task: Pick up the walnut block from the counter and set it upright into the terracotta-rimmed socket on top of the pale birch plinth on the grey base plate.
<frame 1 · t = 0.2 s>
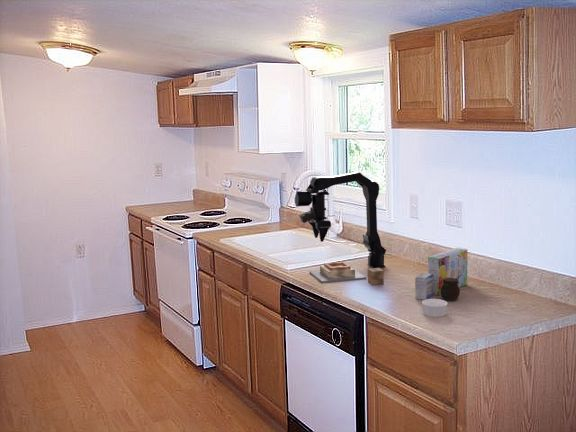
hand: (318, 239, 291), 15 cm above the counter, tool pointing down, fingers open, 9 cm apart
snack box: (447, 289, 261), on the counter
ramekin: (434, 314, 230), on the counter
grey base plate: (337, 275, 285), on the counter
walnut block: (375, 283, 271), on the counter
socket plinth: (337, 274, 284), resting on grey base plate
medicine box: (423, 297, 251), on the counter
mate gourd: (450, 299, 247), on the counter
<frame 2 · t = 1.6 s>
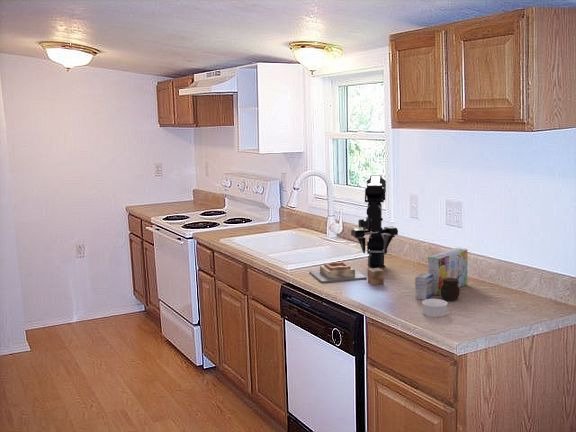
hand: (374, 252, 269), 13 cm above the counter, tool pointing down, fingers open, 9 cm apart
nothing on the counter moved.
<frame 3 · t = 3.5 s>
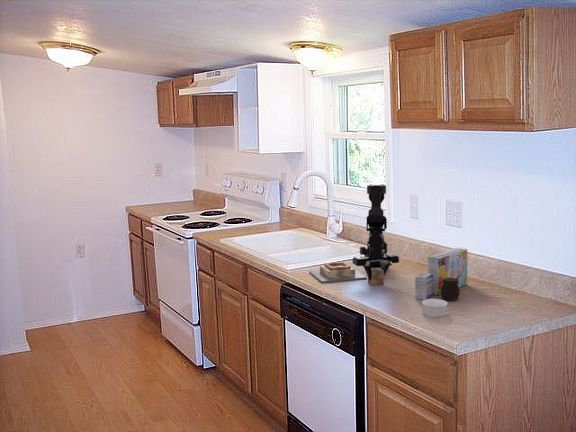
hand: (375, 279, 271), 2 cm above the counter, tool pointing down, fingers closed on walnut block, 5 cm apart
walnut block: (375, 283, 271), on the counter, touching gripper
everything else where it was.
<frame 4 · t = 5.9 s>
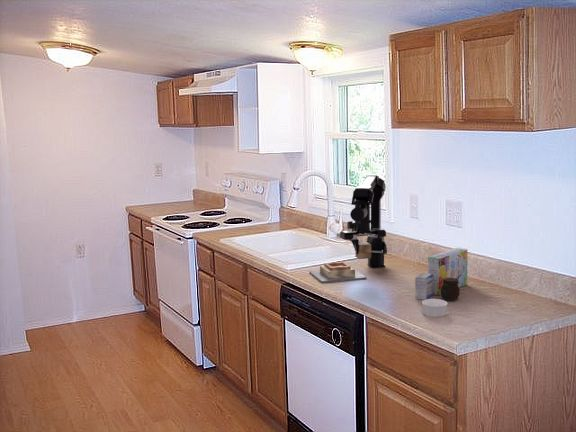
hand: (363, 253, 274), 12 cm above the counter, tool pointing down, fingers closed on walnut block, 5 cm apart
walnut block: (363, 257, 274), point 10 cm above the counter, touching gripper
everything else where it was.
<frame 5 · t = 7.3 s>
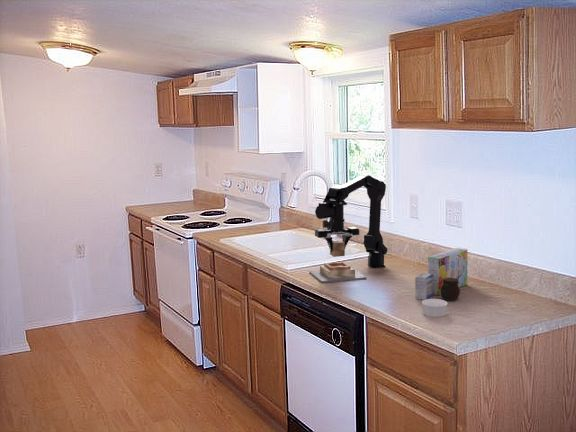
hand: (337, 251, 283), 11 cm above the counter, tool pointing down, fingers closed on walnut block, 5 cm apart
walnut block: (337, 255, 283), point 9 cm above the counter, touching gripper
everything else where it was.
when the fingers open (7 cm above the counter, at t = 8.5 s): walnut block drops 2 cm, resting on socket plinth.
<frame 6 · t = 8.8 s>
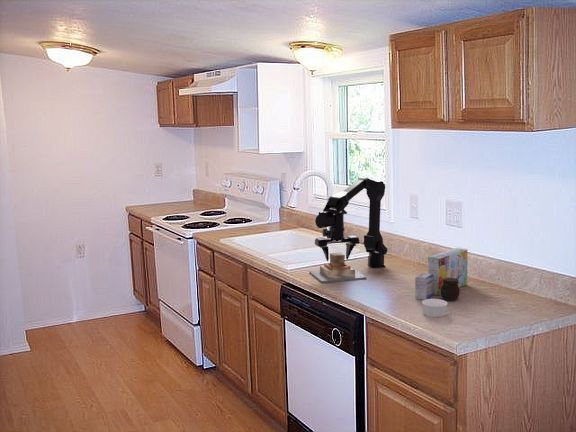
hand: (337, 260, 283), 7 cm above the counter, tool pointing down, fingers open, 9 cm apart
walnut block: (337, 267, 284), point 4 cm above the counter, touching socket plinth
everything else where it was.
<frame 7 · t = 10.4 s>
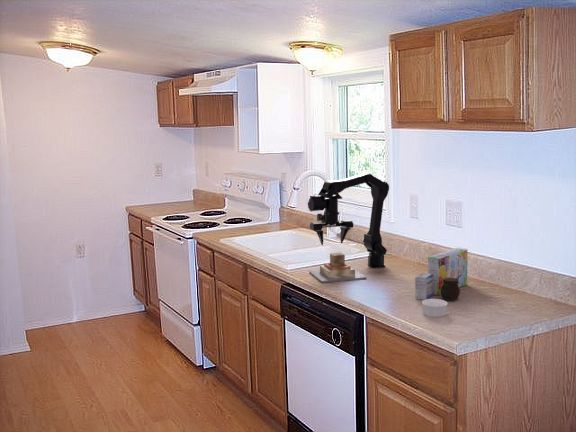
hand: (331, 244, 289), 13 cm above the counter, tool pointing down, fingers open, 9 cm apart
nothing on the counter moved.
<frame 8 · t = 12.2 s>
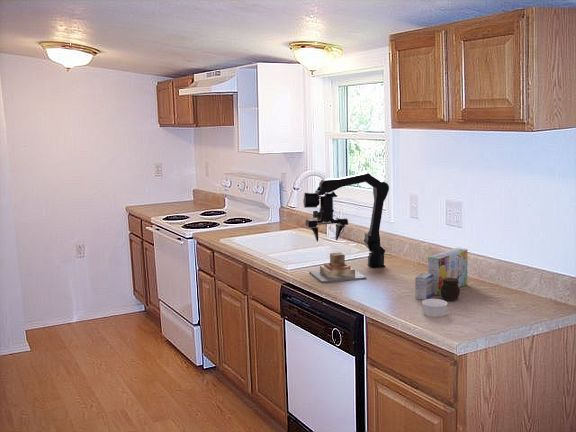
hand: (326, 240, 296), 13 cm above the counter, tool pointing down, fingers open, 9 cm apart
nothing on the counter moved.
at the end: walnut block 0.0 cm off-centre on the socket plinth, point 3.0 cm above the socket plinth's base; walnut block tilted 0°; the gripper is holding nothing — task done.
